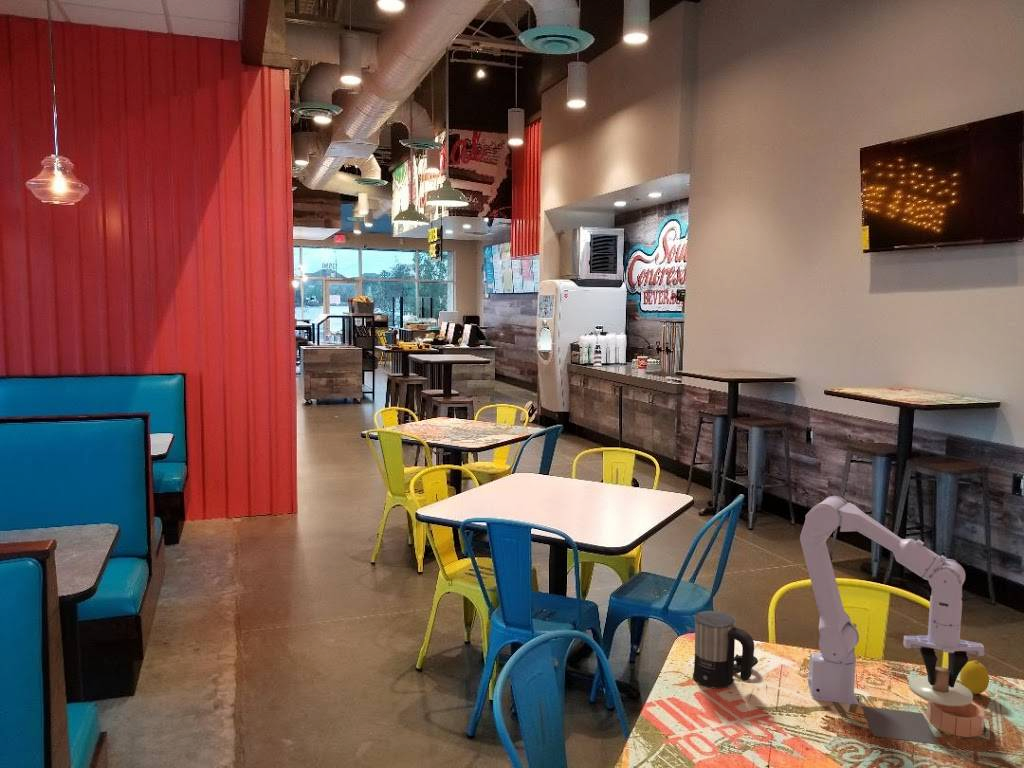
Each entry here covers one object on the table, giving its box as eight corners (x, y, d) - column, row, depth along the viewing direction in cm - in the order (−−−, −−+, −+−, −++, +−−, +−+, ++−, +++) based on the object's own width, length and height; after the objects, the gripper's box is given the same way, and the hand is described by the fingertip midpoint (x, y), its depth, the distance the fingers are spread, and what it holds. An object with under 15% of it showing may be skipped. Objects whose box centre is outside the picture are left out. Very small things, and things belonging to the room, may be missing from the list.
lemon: (991, 702, 172) (994, 667, 171) (964, 699, 173) (966, 664, 172) (981, 690, 177) (984, 656, 176) (955, 687, 178) (957, 653, 177)
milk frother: (689, 684, 178) (691, 622, 177) (698, 655, 193) (700, 597, 191) (754, 696, 173) (756, 632, 172) (758, 665, 188) (761, 606, 186)
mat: (873, 737, 157) (873, 735, 157) (861, 707, 169) (861, 705, 169) (938, 746, 154) (939, 744, 154) (922, 715, 166) (922, 713, 166)
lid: (916, 701, 157) (917, 679, 156) (903, 675, 168) (904, 654, 168) (980, 709, 154) (982, 687, 153) (963, 682, 165) (964, 661, 165)
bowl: (935, 734, 158) (936, 715, 158) (921, 709, 168) (922, 691, 168) (989, 741, 156) (991, 722, 156) (973, 715, 166) (974, 697, 165)
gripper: (910, 624, 157) (906, 688, 159) (991, 632, 154) (986, 697, 155) (902, 611, 164) (898, 673, 166) (979, 618, 161) (975, 681, 162)
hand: (940, 684), depth 161 cm, fingers closed on lid, 3 cm apart
